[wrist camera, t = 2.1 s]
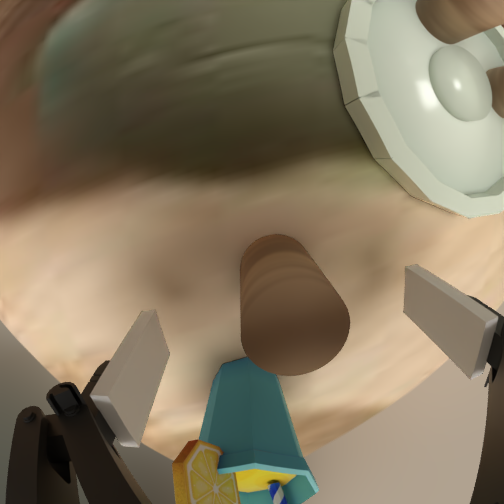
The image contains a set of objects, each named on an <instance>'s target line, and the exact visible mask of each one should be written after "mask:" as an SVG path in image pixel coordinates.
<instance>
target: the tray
mask: <svg viewBox="0 0 504 504" xmlns="http://www.w3.org/2000/svg"><path fill="white" fill-rule="evenodd" d="M416 1H417V0H348V1H347V2H346V3H345V5H344V6H343V8H342V9H341V13H340V18H339V23H338V28H337V33H336V38H335V43H334V48H333V54H334V59H335V63H336V67H337V72H338V76H339V81H340V85H341V90H342V95H343V100H344V105H346V106H345V107H346V109H347V111H348V112H349V114H350V116H351V117H352V119H353V121H354V123H355V124H356V126H357V128H358V130H359V132H360V133H361V135H362V137H363V139H364V141H365V143H366V145H367V147H368V148H369V150H370V152H371V154H372V156H373V158H375V159H374V160H375V161H377V162H378V163H379V164H380V165H381V166H382V167H383V168H384V169H385V170H386V171H387V172H388V173H389V174H390V175H391V176H392V177H393V178H394V179H395V180H396V181H397V182H398V183H399V184H400V185H401V186H402V187H403V188H404V189H405V190H406V191H407V192H408V193H409V194H410V195H411V196H412V197H414V198H417V199H419V200H422V201H424V202H427V203H429V204H431V205H434V206H436V207H438V208H441V209H443V210H445V211H448V212H451V213H454V214H457V215H460V216H463V217H467V218H474V217H480V216H486V215H492V214H498V213H501V212H502V211H503V210H504V118H502V117H500V116H499V115H498V114H497V113H496V112H495V111H494V109H493V108H492V90H491V86H490V82H489V79H488V77H487V74H486V71H487V70H489V69H492V68H496V67H500V66H504V29H503V27H502V26H501V25H499V26H497V27H494V28H492V29H489V30H486V31H484V32H481V33H479V34H476V35H474V36H472V37H469V38H467V39H464V40H462V41H460V42H458V43H455V44H446V43H443V42H441V41H439V40H438V39H436V38H435V37H434V36H433V35H431V34H430V33H429V32H428V31H427V30H426V28H425V27H424V26H423V24H422V23H421V21H420V20H419V18H418V16H417V13H416V9H415V4H416Z"/></svg>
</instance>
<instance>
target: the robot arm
mask: <svg viewBox="0 0 504 504" xmlns="http://www.w3.org/2000/svg"><path fill="white" fill-rule="evenodd" d="M403 312H404V313H405V314H406V315H407V316H408V317H409V318H410V319H411V320H412V321H413V322H414V323H415V324H416V325H417V326H418V327H419V328H420V329H421V330H422V331H423V332H424V333H425V334H426V335H427V336H428V337H429V338H430V339H431V340H432V341H433V342H434V343H435V344H436V345H437V346H438V347H439V348H440V349H441V350H442V351H443V352H444V353H445V354H446V355H447V356H448V357H449V358H450V359H451V360H452V361H453V362H454V363H455V364H456V365H457V366H458V367H459V368H460V369H461V370H462V372H463V373H465V375H466V376H467V377H468V378H469V379H470V380H471V379H473V378H475V377H477V376H479V375H481V374H483V372H484V368H485V365H486V362H488V363H489V364H490V365H491V368H490V372H489V374H488V377H487V380H486V383H485V386H484V387H486V386H487V384H488V383H489V391H488V407H487V418H486V419H487V420H486V428H485V435H484V442H483V448H482V454H481V460H480V465H479V470H478V474H477V479H476V483H475V487H474V491H473V494H472V498H471V502H470V504H504V317H503V316H502V315H501V314H499V313H498V312H496V311H495V310H493V309H492V308H490V307H488V306H487V305H486V304H484V303H483V302H481V301H480V300H478V299H477V298H474V297H471V296H468V295H466V294H464V293H462V292H461V291H459V290H458V289H456V288H455V287H453V286H452V285H450V284H448V283H447V282H445V281H444V280H442V279H440V278H439V277H437V276H436V275H434V274H432V273H431V272H429V271H427V270H426V269H424V268H422V267H421V266H419V265H417V264H415V265H410V266H406V267H405V293H404V311H403ZM169 356H170V352H169V349H168V347H167V344H166V341H165V338H164V335H163V332H162V329H161V326H160V322H159V319H158V316H157V313H156V310H146V311H142V312H141V313H140V315H139V316H138V318H137V319H136V321H135V322H134V324H133V326H132V327H131V329H130V330H129V332H128V333H127V335H126V336H125V338H124V340H123V341H122V343H121V344H120V346H119V348H118V349H117V351H116V352H115V354H114V356H113V357H112V359H111V360H110V361H105V362H104V363H102V364H101V365H100V366H99V367H98V368H97V370H96V371H95V373H94V374H93V375H94V376H92V377H91V379H90V382H88V384H87V385H86V387H85V389H84V390H83V392H82V393H81V394H80V392H79V390H78V389H77V387H76V385H75V384H74V383H71V382H64V383H60V384H58V385H56V386H54V387H53V388H52V389H51V390H49V392H48V394H47V397H46V399H47V401H48V403H49V404H50V406H51V407H52V409H53V410H54V412H55V413H56V414H52V415H44V413H43V412H42V410H41V409H40V408H39V407H36V406H30V407H28V408H25V409H23V410H22V411H21V413H19V415H18V417H17V419H16V424H15V429H14V434H13V440H12V446H11V452H10V460H9V468H8V476H7V488H6V504H80V502H79V495H78V488H77V479H76V474H77V477H78V479H79V482H80V484H81V486H82V488H83V491H84V493H85V496H86V498H87V500H88V502H89V504H152V503H151V501H150V500H149V499H148V498H147V496H146V495H145V493H144V492H143V490H142V489H141V487H140V486H139V485H138V483H137V482H136V480H135V479H134V477H133V475H132V474H131V472H130V471H129V469H128V468H127V466H126V464H125V463H124V461H123V460H122V458H121V456H120V455H119V453H118V451H117V449H116V448H115V447H114V445H113V441H114V439H115V437H116V438H117V440H118V441H119V442H120V444H121V445H122V446H130V447H139V446H140V443H141V439H142V436H143V433H144V430H145V427H146V424H147V420H148V417H149V414H150V411H151V408H152V405H153V402H154V399H155V396H156V393H157V390H158V387H159V384H160V381H161V379H162V376H163V373H164V370H165V367H166V364H167V361H168V358H169Z"/></svg>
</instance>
